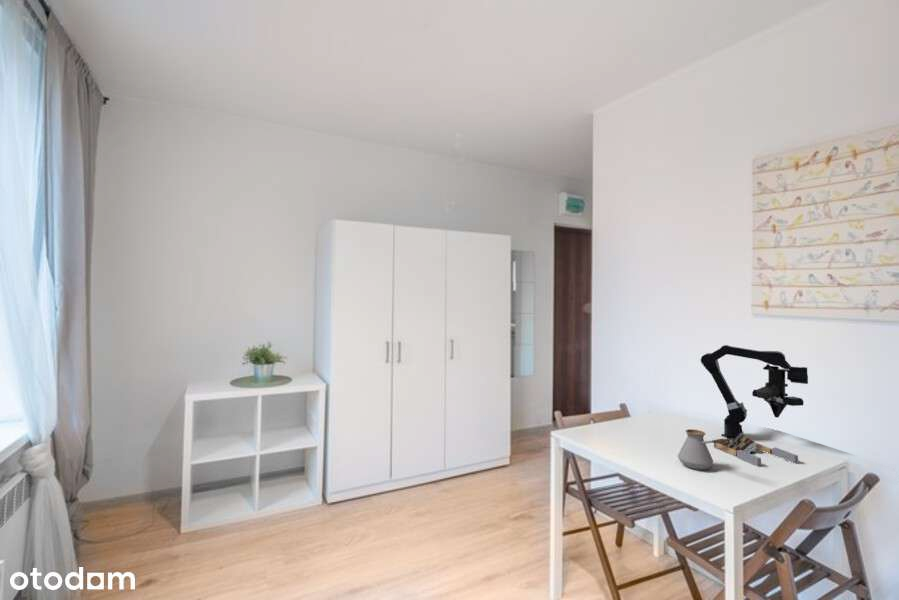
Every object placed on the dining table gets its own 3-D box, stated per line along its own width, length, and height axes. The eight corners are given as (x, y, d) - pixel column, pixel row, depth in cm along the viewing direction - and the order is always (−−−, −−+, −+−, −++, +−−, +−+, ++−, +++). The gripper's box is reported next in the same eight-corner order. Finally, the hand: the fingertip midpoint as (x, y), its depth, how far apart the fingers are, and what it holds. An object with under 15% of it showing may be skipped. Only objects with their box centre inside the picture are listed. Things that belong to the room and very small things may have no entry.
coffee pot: (670, 462, 161) (670, 423, 161) (693, 458, 164) (693, 420, 164) (722, 485, 140) (723, 441, 140) (747, 481, 144) (747, 437, 144)
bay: (737, 457, 165) (737, 450, 165) (775, 454, 169) (775, 447, 169) (757, 466, 157) (757, 458, 157) (798, 463, 160) (798, 455, 160)
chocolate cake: (742, 458, 166) (760, 436, 168) (724, 448, 172) (741, 426, 174) (746, 469, 171) (763, 447, 173) (728, 458, 177) (745, 437, 179)
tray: (714, 447, 177) (714, 442, 177) (748, 444, 180) (748, 440, 180) (736, 456, 167) (736, 451, 167) (772, 454, 170) (772, 449, 170)
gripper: (741, 377, 188) (741, 412, 188) (781, 385, 169) (781, 424, 169) (763, 376, 190) (763, 411, 190) (804, 385, 171) (804, 423, 171)
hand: (776, 417), depth 180 cm, fingers closed
